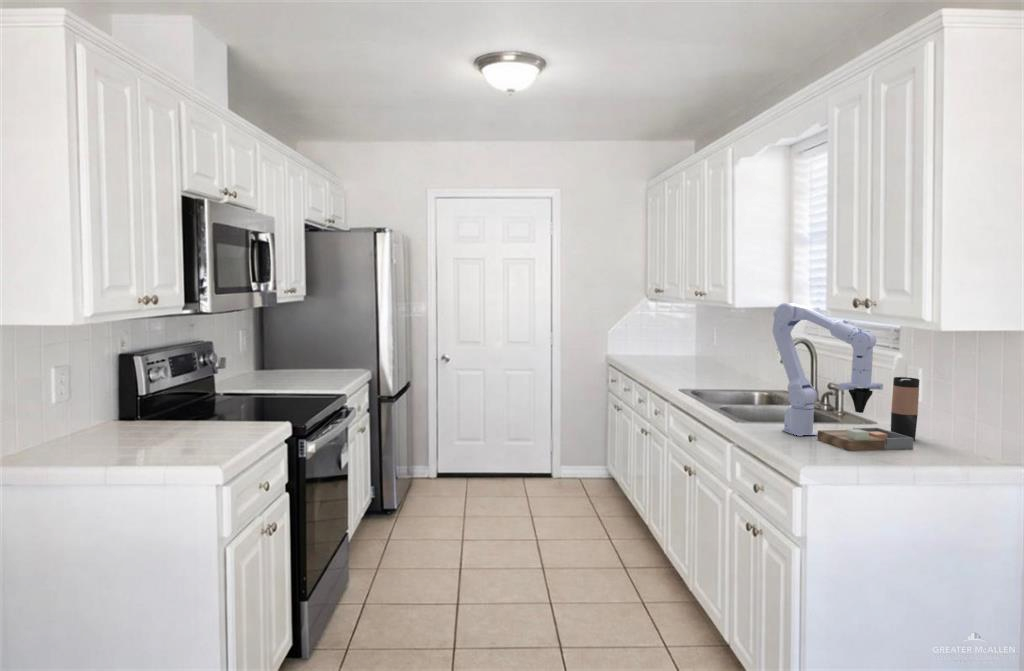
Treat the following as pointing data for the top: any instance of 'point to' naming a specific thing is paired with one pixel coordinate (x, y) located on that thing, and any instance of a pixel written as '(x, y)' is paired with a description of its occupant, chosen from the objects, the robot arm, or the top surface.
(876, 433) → the tile terracotta
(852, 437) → the tile sage
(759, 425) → the top surface
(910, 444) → the box
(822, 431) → the board
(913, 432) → the travel mug
